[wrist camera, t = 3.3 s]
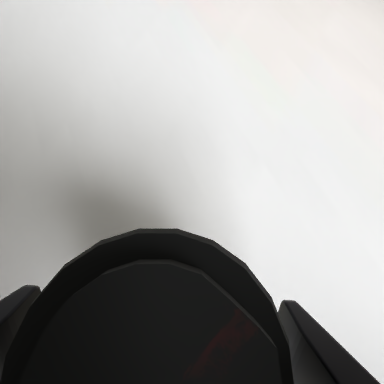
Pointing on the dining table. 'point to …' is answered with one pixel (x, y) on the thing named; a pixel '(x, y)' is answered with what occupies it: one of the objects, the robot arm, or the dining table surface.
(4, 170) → the dining table surface
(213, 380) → the coffee cup
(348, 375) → the robot arm
